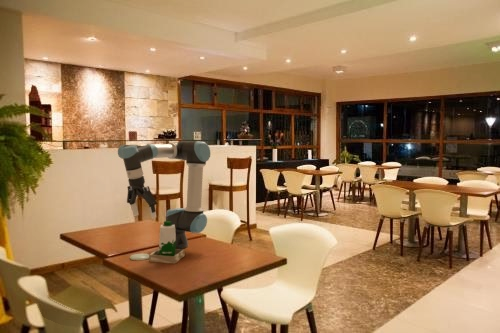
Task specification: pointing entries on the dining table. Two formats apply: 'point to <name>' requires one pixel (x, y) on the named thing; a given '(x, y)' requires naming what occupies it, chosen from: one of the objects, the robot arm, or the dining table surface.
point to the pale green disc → (139, 257)
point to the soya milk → (167, 239)
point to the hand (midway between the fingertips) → (145, 217)
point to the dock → (166, 259)
